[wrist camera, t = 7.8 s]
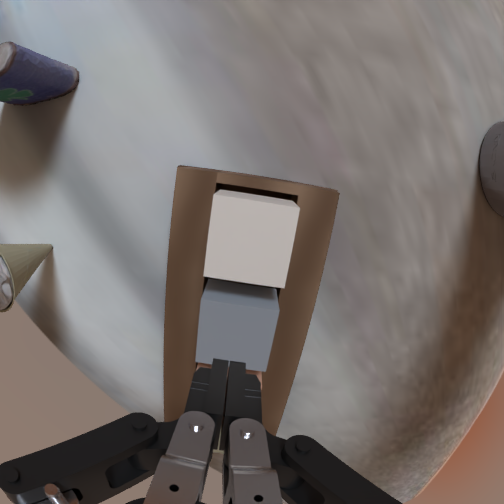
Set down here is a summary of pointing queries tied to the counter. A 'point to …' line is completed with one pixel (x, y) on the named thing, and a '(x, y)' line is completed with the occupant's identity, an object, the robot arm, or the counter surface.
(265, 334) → the slate key
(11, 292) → the ice cream cone
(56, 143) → the counter surface
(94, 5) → the counter surface
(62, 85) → the flask
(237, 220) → the ivory key
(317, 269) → the brown wooden tray
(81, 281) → the counter surface
